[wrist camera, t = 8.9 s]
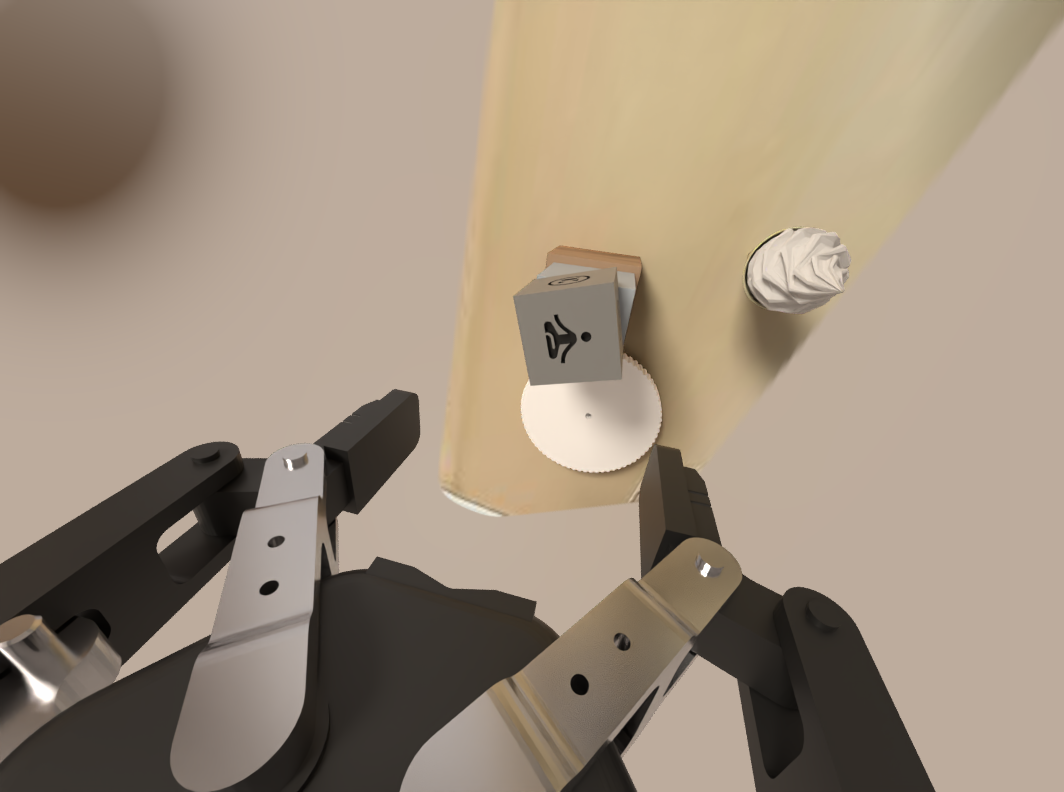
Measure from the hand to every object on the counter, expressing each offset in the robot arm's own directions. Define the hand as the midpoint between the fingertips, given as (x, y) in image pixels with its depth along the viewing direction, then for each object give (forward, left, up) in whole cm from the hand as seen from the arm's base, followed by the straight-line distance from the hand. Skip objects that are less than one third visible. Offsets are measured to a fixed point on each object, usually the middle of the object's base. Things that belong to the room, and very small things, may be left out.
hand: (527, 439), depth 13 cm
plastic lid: (+12, +2, -26) cm, 28 cm away
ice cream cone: (-5, +12, -25) cm, 29 cm away
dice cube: (-1, 0, -14) cm, 14 cm away
